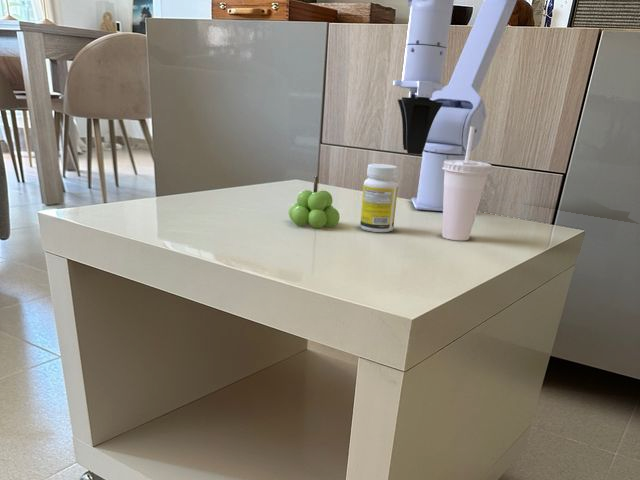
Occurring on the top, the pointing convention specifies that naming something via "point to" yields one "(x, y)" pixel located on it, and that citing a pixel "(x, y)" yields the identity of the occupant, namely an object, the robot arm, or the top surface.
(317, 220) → the grapes
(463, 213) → the smoothie
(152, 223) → the top surface
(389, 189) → the supplement bottle
